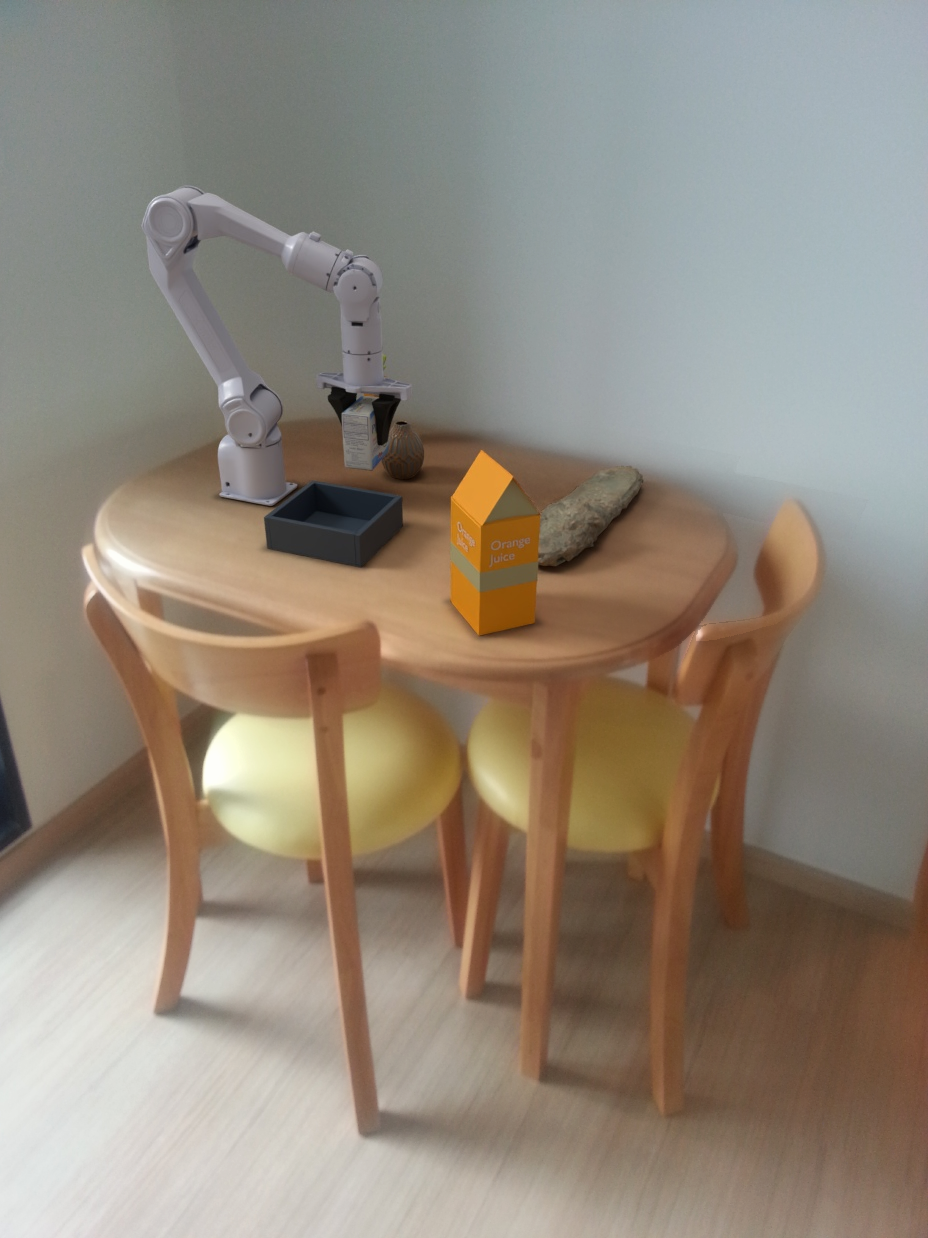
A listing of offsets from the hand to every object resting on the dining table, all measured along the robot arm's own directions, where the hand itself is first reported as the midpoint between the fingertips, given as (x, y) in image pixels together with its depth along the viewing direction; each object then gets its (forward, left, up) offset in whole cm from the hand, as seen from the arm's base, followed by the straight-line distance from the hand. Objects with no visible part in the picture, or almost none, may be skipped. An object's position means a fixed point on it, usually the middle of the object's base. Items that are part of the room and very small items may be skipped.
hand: (366, 440), depth 143 cm
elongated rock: (+33, +5, -10) cm, 35 cm away
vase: (+1, +11, -10) cm, 14 cm away
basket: (+1, -13, -9) cm, 16 cm away
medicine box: (0, 0, -3) cm, 3 cm away
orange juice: (+29, -24, -10) cm, 39 cm away
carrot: (-9, +23, -10) cm, 26 cm away
